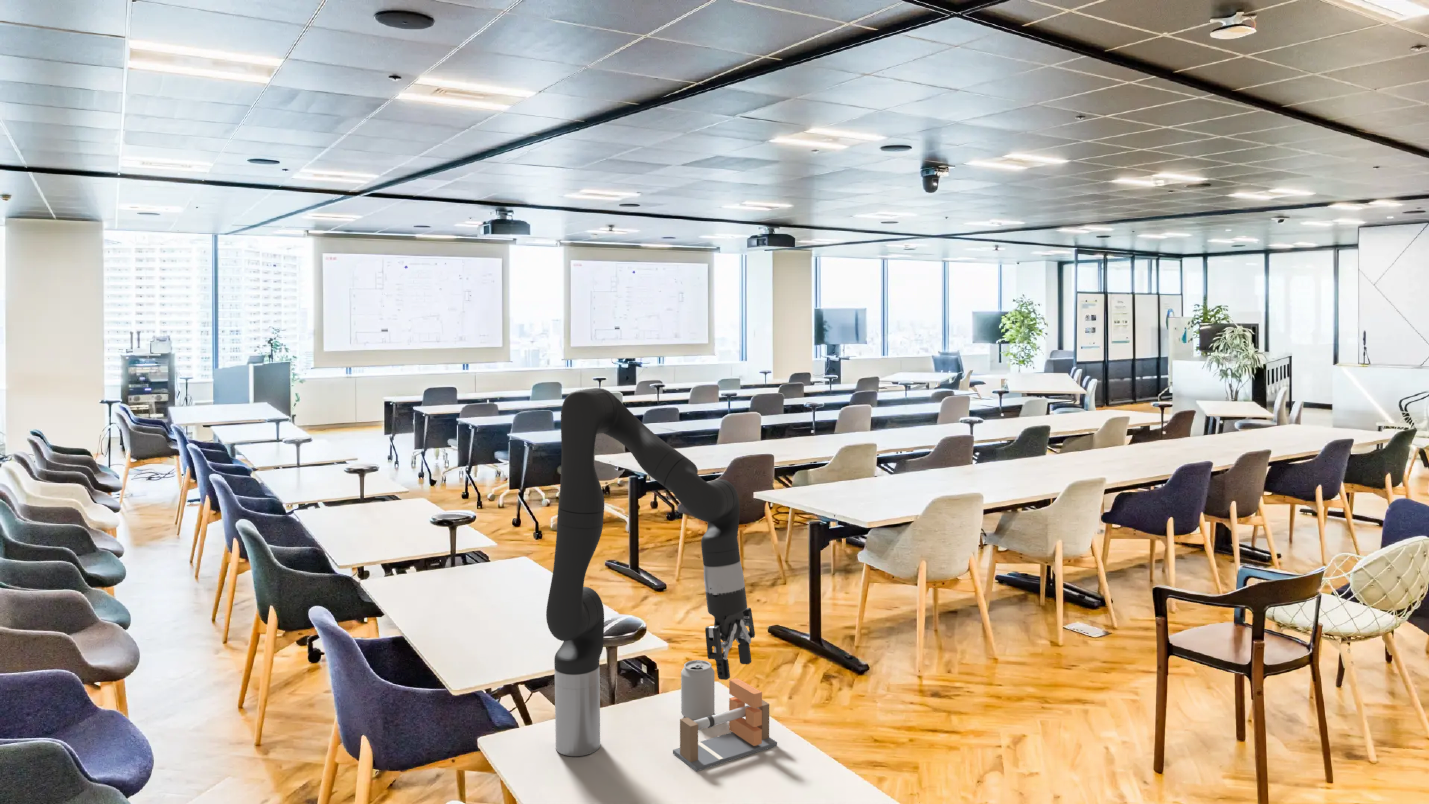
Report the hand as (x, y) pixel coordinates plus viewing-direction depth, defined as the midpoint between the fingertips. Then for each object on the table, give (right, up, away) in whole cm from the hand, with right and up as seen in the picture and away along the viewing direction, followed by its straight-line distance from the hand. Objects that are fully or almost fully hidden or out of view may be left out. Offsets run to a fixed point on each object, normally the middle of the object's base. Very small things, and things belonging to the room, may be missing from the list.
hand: (735, 671), depth 172 cm
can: (-8, -20, +33) cm, 40 cm away
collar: (+3, -20, +19) cm, 28 cm away
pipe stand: (-2, -21, +17) cm, 27 cm away
